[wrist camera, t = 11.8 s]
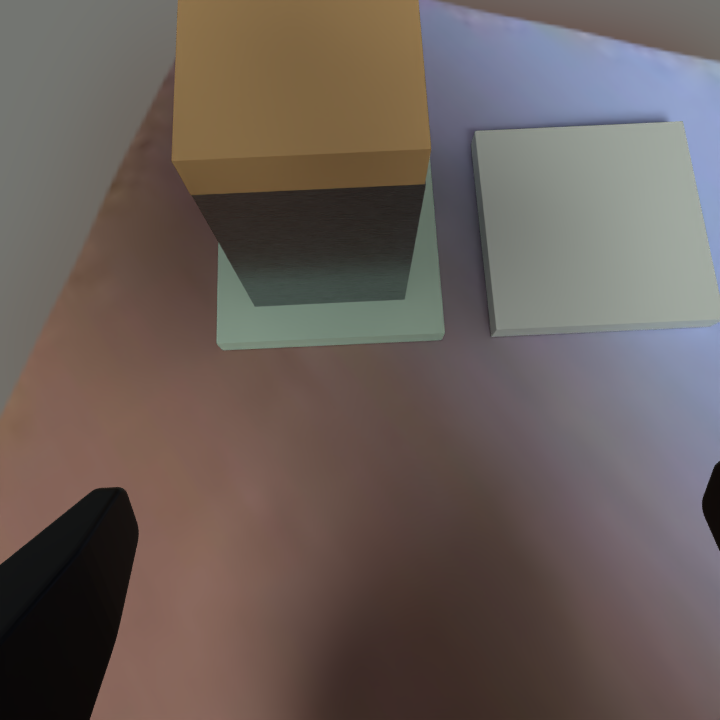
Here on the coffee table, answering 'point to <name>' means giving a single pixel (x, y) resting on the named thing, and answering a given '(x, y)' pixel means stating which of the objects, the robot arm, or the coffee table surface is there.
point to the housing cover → (299, 95)
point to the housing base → (318, 242)
